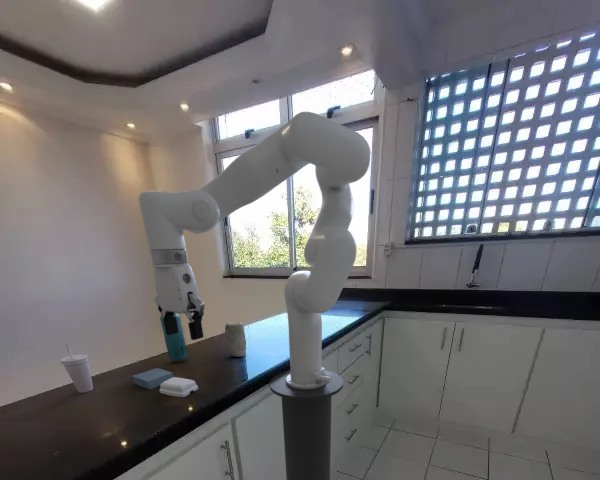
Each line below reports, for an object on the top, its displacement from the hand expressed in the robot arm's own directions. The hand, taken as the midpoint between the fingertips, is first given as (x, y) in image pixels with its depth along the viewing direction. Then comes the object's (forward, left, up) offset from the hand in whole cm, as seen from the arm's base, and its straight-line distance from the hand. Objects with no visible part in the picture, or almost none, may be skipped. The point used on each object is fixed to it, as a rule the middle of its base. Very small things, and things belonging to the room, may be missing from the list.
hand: (184, 336), depth 76 cm
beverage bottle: (+29, -16, -17) cm, 37 cm away
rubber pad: (+19, 0, -16) cm, 25 cm away
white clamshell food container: (+7, 0, -17) cm, 18 cm away
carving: (+15, -31, -17) cm, 38 cm away
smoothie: (+31, +14, -17) cm, 38 cm away
